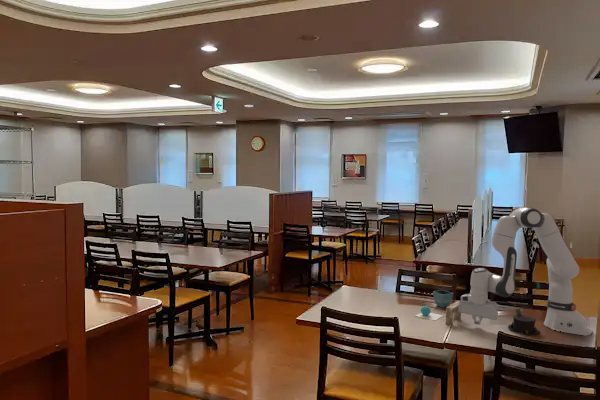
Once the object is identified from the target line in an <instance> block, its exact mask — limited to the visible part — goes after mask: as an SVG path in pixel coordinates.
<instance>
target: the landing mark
mask: <svg viewBox="0 0 600 400" xmlns="http://www.w3.org/2000/svg"><path fill="white" fill-rule="evenodd" d="M414 317H418V318H421V319H426V320H430V321H433V322H434V321H435V322H436V321H437V320H439V319H441V318H443V317H444V315H443V314H437V313H434V312H430V314H429V315H428V316H424V315H423V314H422V313H421V312H420V313H418V314H416V315H414Z"/></svg>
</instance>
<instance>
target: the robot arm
mask: <svg viewBox="0 0 600 400" xmlns="http://www.w3.org/2000/svg"><path fill="white" fill-rule="evenodd" d="M528 228H529V229H533V230H534V232H535V234H536V237H537V239H538V242H539V244H540V247H541V249H542V250H543V252H544V253H545V255H546V256H547V258H546V267H547V276H548V286H549V287H548V299H547V301H546V309H547V310H546V316H545V319H544V322H543V325H544V326H545V327H547V328H549V329H551V330H552V331H554V330H556V331H555V332H560V331H561V333H565V334H566V333H567V334H573V335H581V336H585V337H586V336H590V335H591V334H592V333H593V330H592V328H590V327H589V326H588V322H587V319H586V318H585V317H584V316H583V315H582V314H581V313H580V312H578V311H577V309H576V308H577V304H576V303H573V289H574V288H573V284H572V281H571V280H572V279H574V278H576V277H577V276H578V275H579V273H580V266H579V265H578V263H577V262H576V260H575V258H574V257H573V255H572V252H571V251H570V249H569V248H568V247H567V244H566V243H565V241H564V238H563V236H562V233H561V232H560V229H559V227H558V225H557V224H556V221H555V220H554V218H553V217H552V215H550V214H549V213H547V212H541V211H539V210H538V209H536V208H534V207H524V206H523V207H519V208H518V207H517V208H514V209H512V210H511V211H510V212H509V214H508V215H502V216H501V217H499V219H498V221H497V223H496V225H495V228H494V231H493V235H492V238H491V245H492V246H493V247H492V248H493V249H495V251H496V252H497V253H499V254H500V255H501V256H502V258H503V267H502V268H503V269H502V271H503V272H502V276H501V275H499V274H496V273H492V272H491V271H489V270H488V269H487V268H485V267H477V268H474V269H473V270H472V272H471V275H470V283H469V284H470V291H469V293H465V294H463V295H461V296H460V300H459V306H458V311H459V312H460V313H461V314H465V315H469V316H471V318H472V320H473V324H475V325H478V326H480V325H481V323H482V322H481V321H483V319H488V320H492V321H496V320H497V319H498V318H499V307H500V306H499V304H498V303H497V302H496V301H492V300H490V301H488V300H487V299H488V295H489V294H488V293H489V292H490V293H493V294H496V295H498V296H500V297H503V298H508V297H510V296H512V295H513V293H514V292H515V290H516V282H515V278H516V268H517V257H518V255H517V250H516V248H515V244H516V243H515V242H516V236H517V233H518V232H519V230H520V229H528ZM476 317H478V319H479V320H477V318H476Z"/></svg>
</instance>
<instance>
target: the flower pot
mask: <svg viewBox="0 0 600 400" xmlns="http://www.w3.org/2000/svg"><path fill="white" fill-rule="evenodd" d="M432 294H433V300H434V303H435V304H436V306H438V307H440V308H442V309H444V308H446V307H448V306H450V305H452V302H453V297H454V292H451V291H448V290H445V289H439V290H434V291H432Z"/></svg>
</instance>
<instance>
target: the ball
mask: <svg viewBox="0 0 600 400" xmlns="http://www.w3.org/2000/svg"><path fill="white" fill-rule="evenodd" d="M420 313H422V314H423V315H424V316H428V315H429V314H430V313H432V311H431V308H430V307H429V306H428V305H424V306H422V307H421V308H420Z"/></svg>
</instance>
